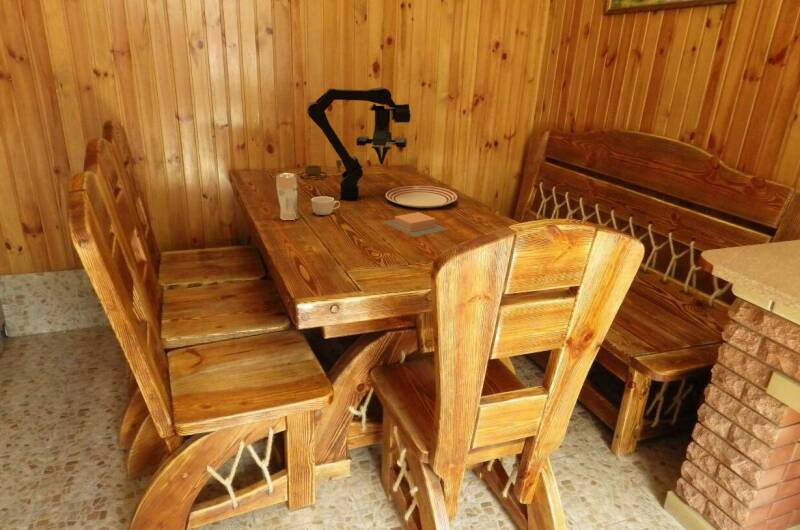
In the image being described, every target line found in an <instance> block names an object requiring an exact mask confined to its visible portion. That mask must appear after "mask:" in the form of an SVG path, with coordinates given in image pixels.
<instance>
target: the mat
mask: <svg viewBox="0 0 800 530" xmlns="http://www.w3.org/2000/svg"><path fill="white" fill-rule="evenodd" d="M382 223H383V224H385V225H387V226H389V227H392V228H394V229H396V230H399V231H400V232H402V233H404V234H407V235H408V236H412V237H413V238H415V237H420V236H424V235H428V234H429V235H430V234H433V233H438V232H443V231H448V230H449V229H448V228H446V227H444V226H441V225H439V224H436V223H435V227H431V228H426V229H421V230H416V231H411V232H410V231H408V230H406V229H404V228H402V227H399V226H397V225H395V219H391V220H386V221H382Z"/></svg>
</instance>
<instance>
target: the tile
mask: <svg viewBox="0 0 800 530" xmlns="http://www.w3.org/2000/svg"><path fill="white" fill-rule="evenodd" d="M394 220H395V225H397V226H399V227H402V228H404V229H406V230H408V231H410V232H411V231H416V230H421V229H426V228H431V227H435V224H436V218H435V217H432V216H429V215H427V214H424V213H422V212H419V211H417V212H412V213H406V214H400V215H396V216H394Z"/></svg>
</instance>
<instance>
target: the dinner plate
mask: <svg viewBox="0 0 800 530" xmlns="http://www.w3.org/2000/svg"><path fill="white" fill-rule="evenodd" d="M385 198H386V199H387V200H389V201H390V202H392V203H394V204H398V205H400V206H403V207H408V208H412V209H413V208H414V209H432V208H433V209H434V208H439V207H443V206H448V205H449V204H451V203H454V202H455V201H457V199H458V195H457V194H456V192H454V191H452V190H449V189H446V188H443V187H438V186H430V185H407V186H399V187H395V188H393V189H389V190H388V191H387V192H386V193H385Z"/></svg>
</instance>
